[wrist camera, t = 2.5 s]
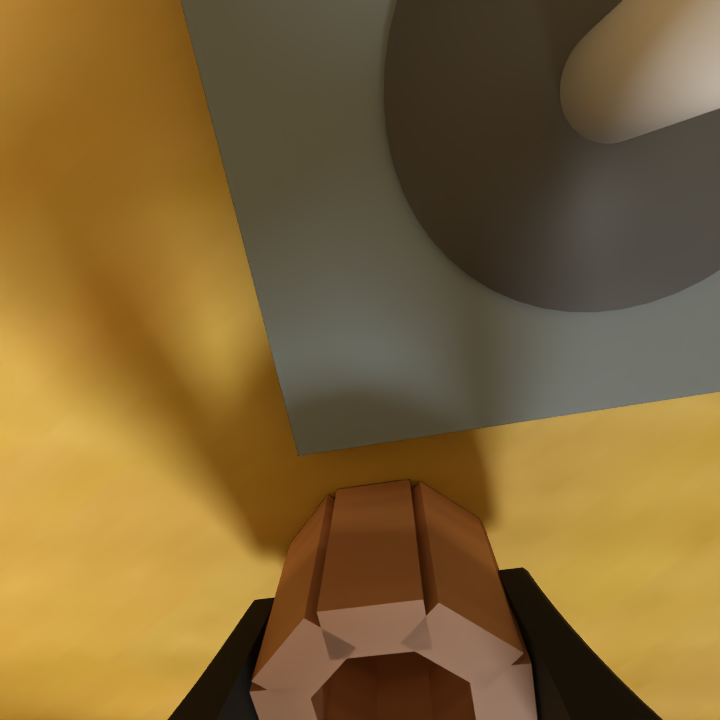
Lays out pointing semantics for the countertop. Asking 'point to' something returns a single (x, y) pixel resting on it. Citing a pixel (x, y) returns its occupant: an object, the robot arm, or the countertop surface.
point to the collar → (392, 617)
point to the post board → (471, 204)
